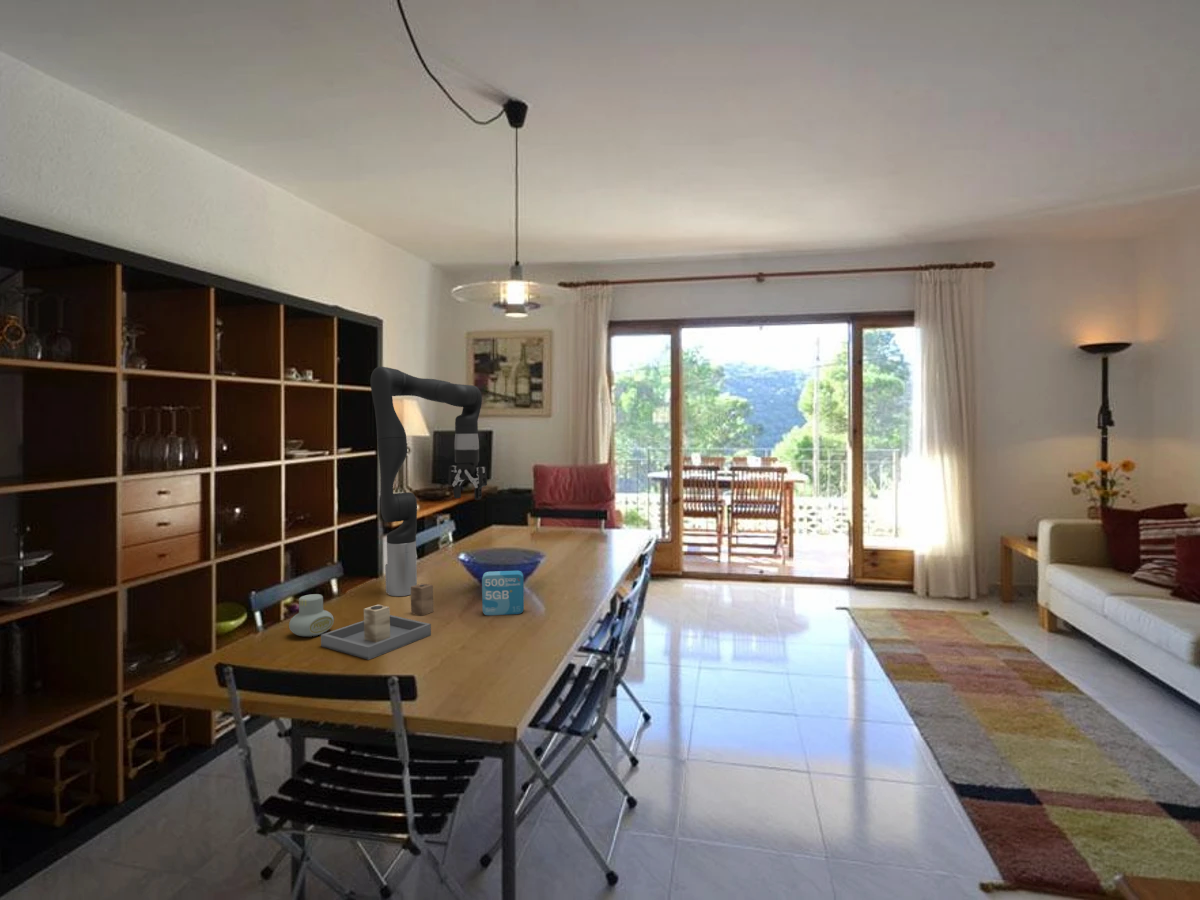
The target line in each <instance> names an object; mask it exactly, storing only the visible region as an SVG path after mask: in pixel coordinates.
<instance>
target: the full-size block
mask: <svg viewBox="0 0 1200 900" xmlns="http://www.w3.org/2000/svg"><path fill="white" fill-rule="evenodd" d="M433 612H434V585H433V584H429V583H428V584H427V583H419V584H417V585H415V586H411V595H410V614H411V615H417V616H425V615H427V614H431V613H433Z"/></svg>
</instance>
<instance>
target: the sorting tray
mask: <svg viewBox="0 0 1200 900" xmlns="http://www.w3.org/2000/svg"><path fill="white" fill-rule="evenodd" d="M431 635H432V626H431V623H427V622H423V621H419V620H414V619H410V618H405V617H401V616H397V615H393V614H390V638H387V639H384V640H381V641H379V642H372V641H369V640H365V639H364V620H362V621H358V622H355V623H353V624H350V625H347V626H343V627H340V628H337V629H334V630H331V631H328V632H324V633H323V634H321V635H320V647H321V648H325V649H328V650H329V649H330V650H332V651H336V652H339V653H343V654H347V655H351V656H353V657H357V658H360V659H364V660H368V661H369V660H372V659H374V658H377V657H379V656H382V655H385V654H386V653H389V652H392V651H395V650H397V649H399V648H402V647H405V646H407V645H409V644H412V643H415V642H418V641H419V640H422V639H426V638H427V637H430V636H431Z"/></svg>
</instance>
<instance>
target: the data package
mask: <svg viewBox="0 0 1200 900" xmlns="http://www.w3.org/2000/svg"><path fill="white" fill-rule="evenodd" d="M481 593H482V595H481V596H482V597H481V600H482V607H481V608H482V613H483V614H484V615H485V616H488V617H489V616H502V615H503V616H504V615H505V616H506V615H508V616H509V615H520V614H522V613H523V612H524V608H525V605H524V603H525V602H524V601H525V599H524V598H525V597H524V596H525V594H524V573H523V572H522V571H520V570H499V571H498V570H497V571H495V570H494V571H486V572H484V573H483V575H482V577H481Z"/></svg>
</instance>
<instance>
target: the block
mask: <svg viewBox="0 0 1200 900" xmlns="http://www.w3.org/2000/svg"><path fill="white" fill-rule="evenodd" d="M390 609H391V608H390V606H387V605H382V604H376V605H372V606H368V607H366V608H363V621H364V639H365V640H369V641H372V642H379V641H381V640H384V639H387V638H390V615H391V610H390Z"/></svg>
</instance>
